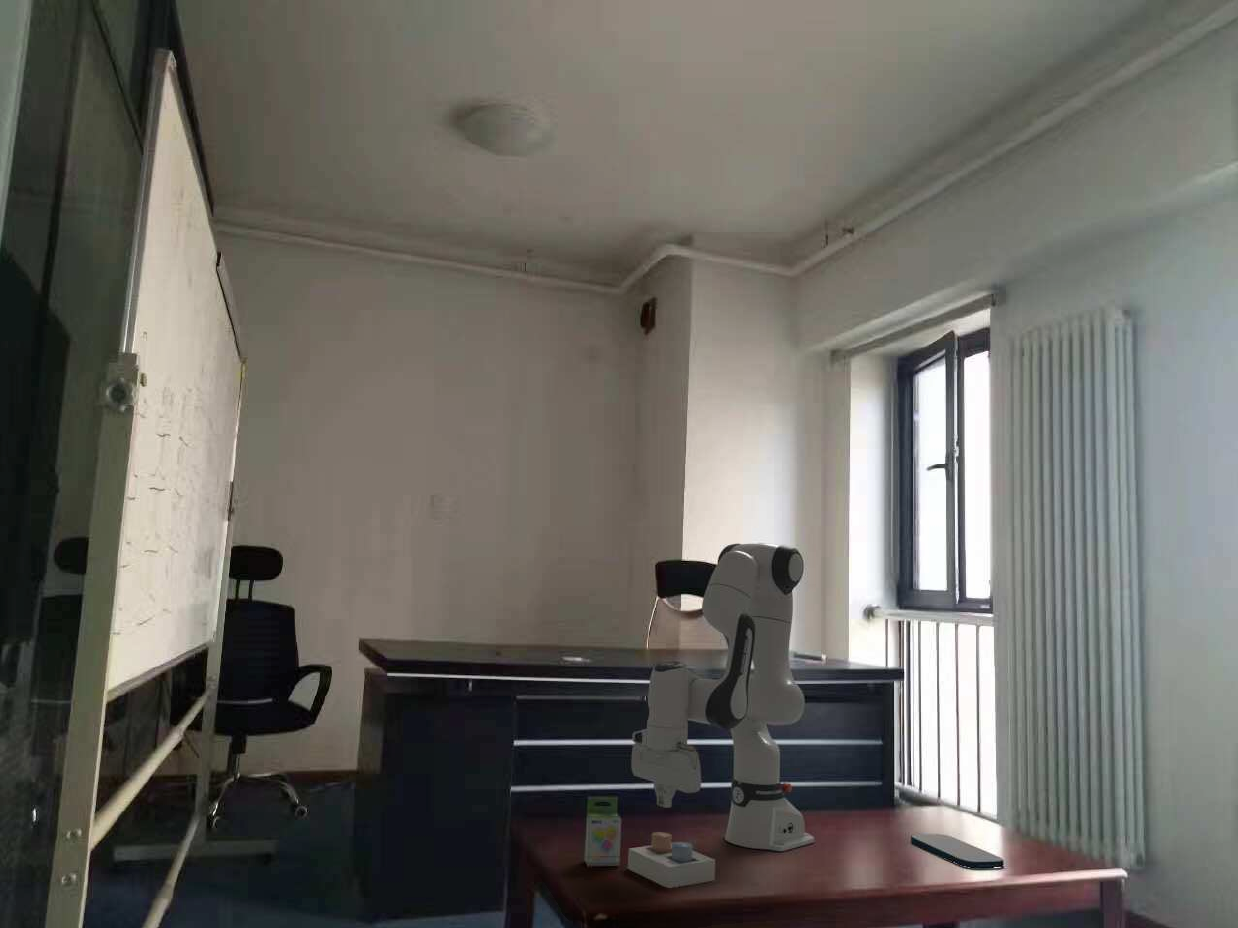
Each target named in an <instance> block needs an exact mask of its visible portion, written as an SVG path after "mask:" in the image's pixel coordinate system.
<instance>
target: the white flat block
mask: <svg viewBox="0 0 1238 928" xmlns="http://www.w3.org/2000/svg"><path fill="white" fill-rule="evenodd" d="M673 843H674V842H671V853H666V854H657V853H654V852H652V851H651V845H645V846H639V847H631V848H630V847H629V848H628V850H627V851H628V852H627V855H628V856H627V869H628V870H629V871H631V872H634V873H636V874H637V875H639V876H641V877H642V876H643V877H644V878H646V879H648V880H651V881H652V882H654V883H657V884H658V885H660V886H662V887H664V888H666V887H667V889H668V888H669V889H674V888H678V887H679V886H680V887H684V886H685V885H686V886H691V885H697V884H701V883H707V882H714V881H715V878H716V859H714V858H711V857H709V856H707V855H704V854H702V853H699V852H697V851H695V850H692V862H688V863H682V864H679V863H677V862H675V861H672V844H673ZM686 886H685V887H686ZM673 887H674V888H673Z"/></svg>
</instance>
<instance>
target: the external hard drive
mask: <svg viewBox="0 0 1238 928" xmlns="http://www.w3.org/2000/svg"><path fill="white" fill-rule="evenodd" d="M910 842H911V844H912V845H914V846H915V847H918V848H920V849H922V850H924V851H926V850H927V851H926V852H929V853H931V854H933V855H935V856H937V855H939V856H941V857H943V858H942V859H944V858H946V859H948V860H950V861H952V862H955V863H957V864H959V865H962V866H966V867H970V868H994V867H1002V866H1003V865H1004V864H1005V863H1004V859H1003V858H1002V857H1000V856H997V855H996V854H994V853H991V852H989V851H988V850H987V851H986V850H984V849H982V848H979V847H977V846H974V845H972V844H970V843H967V842H965V841H963V840H960V839H958V838H956V837H953V836H951V835H948V834H947V835H946V834H942V833H941V834H940V833H920V834H918V833H917V834H911V836H910ZM939 856H938V857H939ZM941 857H940V858H941ZM946 859H945V860H946ZM948 860H947V861H948ZM950 861H949V862H950ZM952 862H951V863H952ZM959 865H958V866H959ZM1003 867H1004V866H1003Z"/></svg>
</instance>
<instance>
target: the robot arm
mask: <svg viewBox="0 0 1238 928" xmlns="http://www.w3.org/2000/svg"><path fill="white" fill-rule="evenodd" d="M804 566H805V565H804V559H803V557H802V554H801V553H800V551H799V549H797V548H796V547H793V546H790V545H786V544H776V543H775V544H773V543H765V542H758V543H733V544H729V545H727V546H725V547H724V548H723V549H722V550H721V551H720V553H719V555H718V559H717V565H716V567H714V570H713V572H712V573H711V576H710V579H709V582H708V584H707V587H706V589H705V592H704V595H703V597H702V598H703V599H702V601H701V602H702V603H701V611H702V614H703V617H704V618H705V620H706V622H707V623H708V624H709V625H710V626H711V627H713V628H714V630H716V631H718V632H719V633H721V634H722V635H724V636H726V637H727V640H728V645H729V646H728V651H727V656H726V657H727V658H726V665H725V670H724V675H723V676H722V677H721V678H719V679H711V678H704V677H699V676H698V675H696V674H694V673H693V672H691V671H690V670H689V669H688V665H687V664H686V663H684V662H682V661H665V662H664V661H663V662H661V663H658V664H656V665H654V667H652V671H651V675H650V678H649V685H648V693H647V694H648V695H647V696H648V698H647V702H648V703H647V705H648V711H649V713H648V714H649V715H648V718H647V722H646V728H644V729H641V730H637V731H634V732H633V733H632V740H631V741H632V742H633V743H634V744H633V745H632V749H631V763H630V764H631V766H630V767H631V771H632V774H633V776H635V777H638V778H641V779H643V780H644V779H645V780H647V781H650V782H653V789H654V792H655V796H656V805H657V806H660V807H663V808H666V809H668V808H672V802H673V801H672V800H673V798H674V796H675V794H676V792H677V791H680V792H684V793H686V794H689V793H690V794H693V793H698V792H699V791H700V789H701V788H702V772H701V771H702V770H701V762H700V758H699V752H697V750H696V748H695V747H694V746H693V745H691V744H688V733H689V732H688V731H689V730H688V728H689V723H688V721H691V722H695V723H701V724H704V725H705V724H706V725H711V726H713V727H717V728H720V729H723V730H726V731H727V730H730V733H731V739H732V743H733V777H732V778H731V784H730V785H731V786H730V787H731V788H730V789H731V790H730V791H731V792H730V793H731V802H730V803H731V804H730V805H731V806H730V809H729V817H728V818H729V819H728V823H727V828H726V830H725V831H726V832H725V836H724V840H725V841H727V842H728V843H731V844H734V845H737V846H740V847H744V848H750V849H756V850H757V849H759V850H769V851H776V852H785V851H788V850H789V851H790V850H791V849H795V848H799V847H802V846H806V845H810V844H812V843H815V837H814V836H813V835H811V834H809V833H808V832H805V831H806V830H805V821H804V816H803V814H802V813H801V811H799V810H798V809H797V808H796V807H795V806H794V805H793V804H792V803H791V802H790V801H789V800H787V798H786V797H785V792H787V793H791V792H792V790H793V785H792V784H791V783H788V782H783V783H782V782H781V781H780V772H781V771H780V766H781V763H780V761H781V752H780V751H781V750H780V748H779V746H778V744H777V743H776V741H774V739H773V738H772V736H771V735H770V732H769V729H768V726H767V724H768V725H773V726H786V725H793V724H796V723H797V722H798V721H799V720H800V719H801V718H802V716H803V714H804V712H805V711H804V710H805V706H806V705H805V704H806V703H805V701H806V700H805V696H804V693H803V691H802V689H801V688H800V686H799V685H798V684H797V683H796V681H795V678H794V676H793V673H792V670H791V666H790V657H789V656H790V655H789V653H790V640H791V633H792V632H791V631H792V625H793V617H794V615H793V613H794V595H793V593H794V592H793V590H794V589H795V588H796V587H797V585H798V584H799V583H800V581H801V580H802V577H803V574H804V568H805V567H804ZM752 664H753V672H754V673H753V674H751V669H752Z"/></svg>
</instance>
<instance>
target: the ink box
mask: <svg viewBox="0 0 1238 928" xmlns="http://www.w3.org/2000/svg"><path fill="white" fill-rule="evenodd" d="M618 801H619V797H618V796H587V809H586V810H587V811H586V824H585V825H586V827H585V828H586V829H585V840H584V842H585V843H584V859H583V860H584V863H585V864H586V866H587V867H619V866H620V863H621V862H620V860H621V859H620V857H621V856H620V855H621V838H622V837H621V836H622V835H621V834H622V832H621V831H622V818H621V817H620V815H619V814H618ZM600 802H606V803H609V804H610V805H607V806H604V805H603V806H601V805H599V806H598V805H595V804H596V803H597V804H598V803H600Z"/></svg>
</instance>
